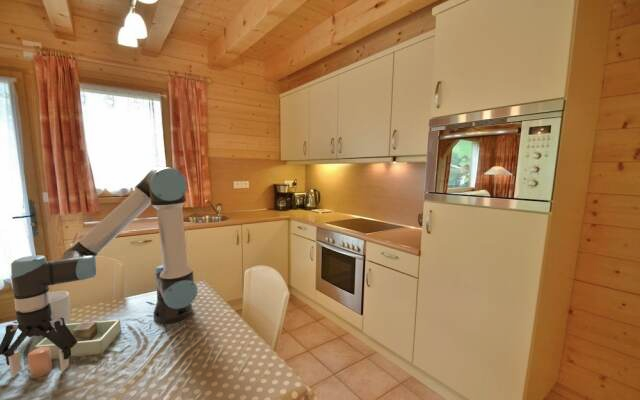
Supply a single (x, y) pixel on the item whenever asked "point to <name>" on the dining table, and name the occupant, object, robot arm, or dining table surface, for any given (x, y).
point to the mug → (60, 306)
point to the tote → (84, 348)
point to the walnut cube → (85, 331)
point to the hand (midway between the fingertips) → (41, 370)
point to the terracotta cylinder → (39, 362)
